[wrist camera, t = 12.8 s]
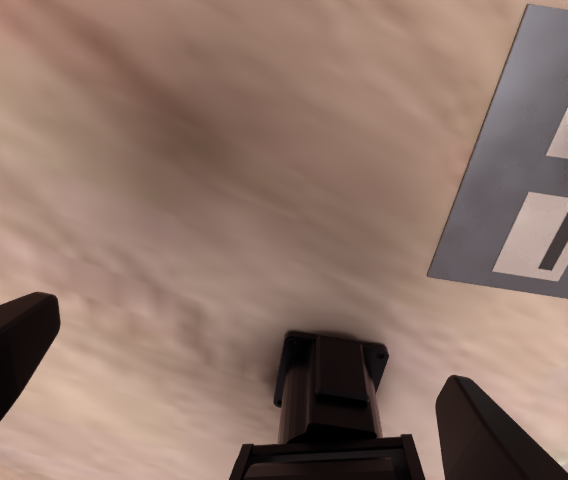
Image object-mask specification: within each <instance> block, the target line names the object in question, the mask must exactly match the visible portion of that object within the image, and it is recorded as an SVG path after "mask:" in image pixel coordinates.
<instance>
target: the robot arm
mask: <svg viewBox="0 0 568 480" xmlns="http://www.w3.org/2000/svg"><path fill="white" fill-rule="evenodd" d="M59 329H60V314H59V305H58V299H57V297H56V296H55V295H53V294H48V293H43V292H34V293H31V294H28V295H25V296H23V297H20V298H17V299H15V300H12V301H9V302H7V303H4V304H1V305H0V421H1V420H2V419H3V417H4V416H5V415H6V413H7V412H8V411H9V409H10V408H11V407H12V405H13V404H14V403H15V401H16V400H17V398H18V397H19V396H20V394H21V393H22V391H23V390H24V388H25V386H26V385H27V383H28V382H29V380H30V378H31V377H32V375H33V373H34V372H35V370H36V369H37V367H38V365H39V364H40V362H41V360H42V359H43V357H44V355H45V354H46V352H47V351H48V349H49V347H50V346H51V344H52V342H53V341H54V339H55V337H56V336H57V334H58V332H59ZM290 339H294V340H295V341H291V340H290ZM378 353H383V354H378ZM388 358H389V353H388V350H387V348H386V347H385V346H382V345H376V344H370V343H363V342H357V341H351V340H344V339H338V338H331V337H325V336H319V335H312V334H306V333H299V332H288V333H287V334H286V335H285V338H284V343H283V349H282V355H281V360H280V366H279V372H278V377H277V383H276V389H275V395H274V405H275V406H277V407H280V408H281V417H280V427H279V437H278V444H270V445H254V444H243V445H242V448H241V450H240V453H239V456H238V458H237V460H236V462H235V465H234V467H233V470H232V473H231V475H230V478H229V480H425V476H424V473H423V470H422V467H421V463H420V460H419V457H418V453H417V450H416V447H415V444H414V440H413V437H412V434H403V435H401V437H386V438H383V435H382V429H381V423H380V417H379V411H378V406H377V400H376V392H377V389H378V386H379V383H380V380H381V378H382V375H383V372H384V369H385V366H386V364H387V361H388ZM436 416H437V424H438V431H439V439H440V446H441V454H442V461H443V468H444V475H445V480H568V473H567V472H566V471H565V470H564V469H563V468H562V467H561V466H560V465H559V464H558V463H557V462H556V461H555V460H554V459H553V458H552V457H551V456H550V455H549V454H548V453H547V452H546V451H545V450H544V449H543V448H542V447H541V446H540V445H539V444H538V443H537V442H536V441H534V440H533V439H532V438H531V437H530V436H529V435H528V434H527V433H526V432H525V431H524V430H523V429H522V428H521V427H520V426H519V425H518V424H517V423H516V422H515V421H514V420H513V419H512V418H511V417H510V416H509V415H508V414H507V413H506V412H505V411H504V410H503V409H502V408H501V407H499V406H498V405H497V404H496V403H495V402H494V401H493V400H492V399H491V398H490V397H489V396H488V395H487V394H486V393H485V392H484V391H483V390H482V389H481V388H480V387H479V386H478V385H477V384H476V383H475V382H474V381H473V380H471V379H470V378H467V377H463V376H458V375H451V376H450V377H449V378H448V379H447V381H446V383H445V385H444V386H443V388H442V390H441V392H440V394H439V395H438V397H437V400H436Z"/></svg>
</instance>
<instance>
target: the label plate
mask: <svg viewBox="0 0 568 480" xmlns="http://www.w3.org/2000/svg"><path fill="white" fill-rule="evenodd" d="M427 277H431V278H437V279H444V280H450V281H457V282H463V283H470V284H476V285H482V286H489V287H495V288H502V289H508V290H515V291H521V292H528V293H534V294H541V295H547V296H553V297H560V298H566V299H568V10H564V9H558V8H551V7H544V6H538V5H531V4H527V6H526V9H525V11H524V14H523V17H522V19H521V22H520V25H519V28H518V30H517V33H516V36H515V38H514V41H513V44H512V47H511V49H510V52H509V55H508V57H507V60H506V63H505V65H504V68H503V71H502V74H501V76H500V79H499V82H498V84H497V87H496V90H495V93H494V95H493V98H492V101H491V103H490V106H489V109H488V111H487V114H486V117H485V120H484V122H483V125H482V128H481V130H480V133H479V136H478V139H477V141H476V144H475V147H474V149H473V152H472V155H471V157H470V160H469V163H468V166H467V168H466V171H465V174H464V176H463V179H462V182H461V185H460V187H459V190H458V193H457V195H456V198H455V201H454V203H453V206H452V209H451V212H450V214H449V217H448V220H447V222H446V225H445V228H444V231H443V233H442V236H441V239H440V241H439V244H438V247H437V249H436V252H435V255H434V258H433V260H432V263H431V266H430V268H429V271H428V274H427Z"/></svg>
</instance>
